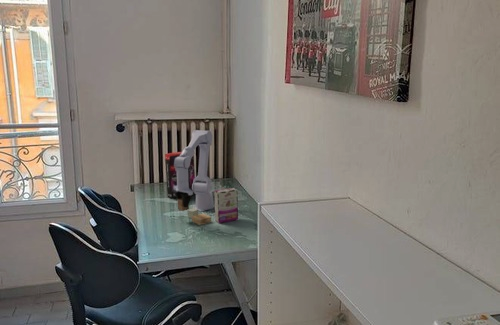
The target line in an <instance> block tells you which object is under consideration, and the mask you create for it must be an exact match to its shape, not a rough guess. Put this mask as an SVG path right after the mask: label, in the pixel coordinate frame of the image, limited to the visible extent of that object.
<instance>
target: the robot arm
mask: <svg viewBox="0 0 500 325" xmlns="http://www.w3.org/2000/svg"><path fill="white" fill-rule="evenodd" d="M212 144H213V132H212V131H211V130H200V129H193V131H192V132H191V139H190V142H189V144H188V146H185V147H184V148H183V150H182V151H181V152H182V153H181V154H180V156H179V157H177V158H175V160H174V166H175V170H176V171H177V185H176V186H174V190H176V192H174V194H175V195H176V197H177V198H176V199H177V201H178V199H179V198H182V199H183V204H184V207H188V205H189V206H190V200H191V197H192V196H193V195H195V206H192V208H194V209H198V212H204V211H207V210H212V209H215V206H214V194H213V193H212V188H213V185H212V179H211V178H210V177H209V176H208V167H209V157H210V156H209V155H210V147H212ZM198 146H199V159H198V172H197V176H195V178H194V180H193V184H192V190H193V191H191V190H190V189H189V184H188V168H189V166H190V162H191V158H192V156H193V155H194V156H195V149H197V147H198ZM193 192H194V193H195V194H193Z"/></svg>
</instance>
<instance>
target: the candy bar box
mask: <svg viewBox="0 0 500 325" xmlns="http://www.w3.org/2000/svg"><path fill="white" fill-rule="evenodd" d="M238 198H239V197H238V189H237V188H235V187H229V188H224V189H217V190H216V189H215V190H214V214H215V215H214V216H215V217H214V218H215V220H214V221H215V223H216V222H217V223H218V224H223V223H229V222H234V221H238V220H239V208H238V207H239V206H238V205H239V202H238Z"/></svg>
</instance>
